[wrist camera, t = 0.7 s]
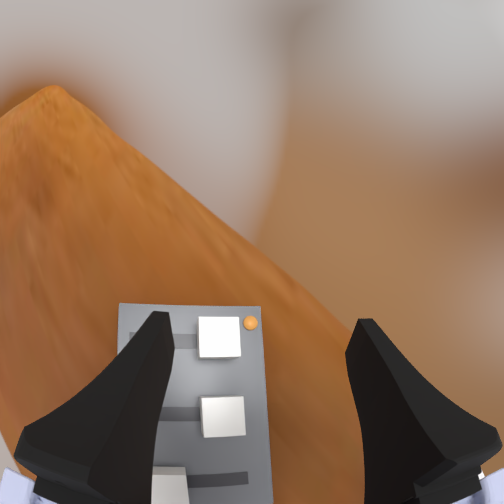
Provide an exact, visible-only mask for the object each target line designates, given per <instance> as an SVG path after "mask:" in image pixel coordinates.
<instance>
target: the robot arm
mask: <svg viewBox="0 0 504 504" xmlns="http://www.w3.org/2000/svg"><path fill="white" fill-rule="evenodd" d="M174 351H175V345H174V339H173V333H172V327H171V321H170V315H169V312H163V311H153V312H151V314H150V315H149V316H148V318H147V319H146V320H145V322H144V323H143V324H142V326H141V327H140V328H139V330H138V331H137V332H136V333H135V335H134V336H133V337H132V338H131V340H130V341H129V342H128V343H127V345H126V346H125V347H124V348H123V349H122V351H121V352H120V353H119V354H118V355H117V356H116V357H115V358H114V359H113V361H112V362H111V363H110V364H109V365H108V366H107V367H106V368H105V369H104V370H103V371H102V372H101V373H100V374H99V375H98V376H97V377H96V378H95V379H94V380H93V381H92V382H90V383H89V384H88V385H87V386H86V387H85V388H83V389H82V390H81V391H80V392H79V393H78V394H76V395H75V396H74V397H72V398H71V399H70V400H68V401H67V402H66V403H64V404H63V405H61V406H60V407H58V408H57V409H55V410H54V411H52V412H51V413H49V414H48V415H46V416H44V417H42V418H40V419H39V420H37V421H35V422H33V423H31V424H29V425H27V426H25V427H24V429H23V431H22V433H21V436H20V438H19V441H18V444H17V447H16V450H15V453H14V458H15V459H16V461H17V462H19V463H20V464H21V465H23V466H24V467H25V468H27V469H28V470H29V471H31V472H32V473H34V474H35V475H37V478H36V482H35V481H34V480H32V479H30V478H28V477H26V476H24V475H22V474H20V473H18V472H16V471H14V470H12V469H10V468H8V467H6V468H5V471H4V473H3V477H2V480H1V483H0V504H151V497H152V474H153V461H154V450H155V442H156V434H157V427H158V422H159V417H160V413H161V409H162V405H163V402H164V398H165V394H166V390H167V386H168V383H169V379H170V375H171V371H172V365H173V358H174ZM345 356H346V364H347V371H348V377H349V381H350V385H351V389H352V393H353V397H354V401H355V405H356V409H357V413H358V417H359V421H360V426H361V432H362V441H363V451H364V466H365V497H364V504H504V468H501V469H500V470H498V471H496V472H494V473H492V474H490V475H488V476H486V477H484V478H482V479H480V480H479V476H478V475H479V474H480V473H481V472H482V470H481V467H480V465H482V464H483V463H484V462H486V461H487V460H488V459H490V458H491V457H493V456H494V455H495V454H496V453H498V452H499V451H500V450H501V448H502V442H501V440H500V437H499V434H498V432H497V430H496V428H495V427H493V426H491V425H489V424H487V423H485V422H483V421H481V420H479V419H478V418H476V417H474V416H472V415H471V414H469V413H468V412H466V411H465V410H463V409H462V408H460V407H459V406H457V405H456V404H455V403H453V402H452V401H451V400H449V399H448V398H447V397H445V396H444V395H443V394H442V393H441V392H439V391H438V390H437V389H436V388H435V387H434V386H433V385H431V384H430V383H429V382H428V381H427V380H426V379H425V378H424V377H423V376H422V375H421V374H420V373H419V372H418V371H417V370H416V369H415V368H414V367H413V366H412V365H411V363H410V362H409V361H408V360H407V359H406V358H405V357H404V356H403V354H402V353H401V352H400V351H399V350H398V349H397V348H396V346H395V345H394V344H393V343H392V341H391V340H390V339H389V338H388V337H387V335H386V334H385V333H384V332H383V331H382V329H381V328H380V327H379V326H378V325H377V323H376V322H375V321H374V320H373V319H358V321H357V323H356V326H355V329H354V331H353V334H352V337H351V339H350V342H349V344H348V347H347V349H346V352H345Z"/></svg>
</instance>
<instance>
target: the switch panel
mask: <svg viewBox="0 0 504 504" xmlns="http://www.w3.org/2000/svg"><path fill="white" fill-rule="evenodd" d="M153 311H163V312H169V315H170V321H171V327H172V333H173V339H174V345H175V351H174V358H173V365H172V371H171V375H170V379H169V383H168V386H167V390H166V394H165V398H164V402H163V405H162V409H161V413H160V417H159V422H158V427H157V434H156V442H155V450H154V461H153V466H157V467H185V470H186V478H187V488H188V496H189V504H272V503H273V490H272V474H271V458H270V443H269V427H268V412H267V397H266V382H265V367H264V352H263V338H262V323H261V309H260V306H184V305H152V304H129V303H119V316H118V354H119V353H120V352H121V351H122V349H123V348H124V347H125V346H126V345H127V343H128V342H129V341H130V340H131V338H132V337H133V336H134V335H135V333H136V332H137V331H138V330H139V328H140V327H141V326H142V324H143V323H144V322H145V320H146V319H147V318H148V316H149V315H150V314H151V312H153ZM198 317H239V328H240V346H241V357H238V358H236V359H198V356H197V320H198ZM229 395H239V396H243V397H244V413H245V428H246V435H242V436H228V437H208V438H204V436H203V434H202V432H201V418H200V401H199V396H229Z"/></svg>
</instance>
